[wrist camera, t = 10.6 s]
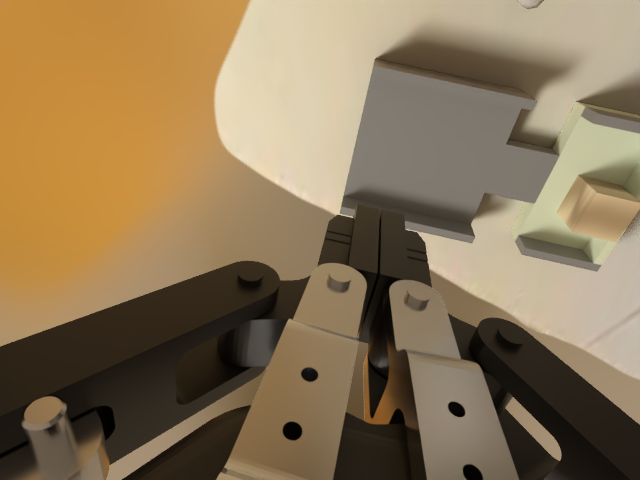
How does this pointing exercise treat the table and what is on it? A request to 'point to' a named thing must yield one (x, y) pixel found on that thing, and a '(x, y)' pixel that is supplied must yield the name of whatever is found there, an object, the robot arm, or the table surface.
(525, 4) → the bunny figurine
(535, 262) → the table surface
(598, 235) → the birch block
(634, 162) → the trap box
